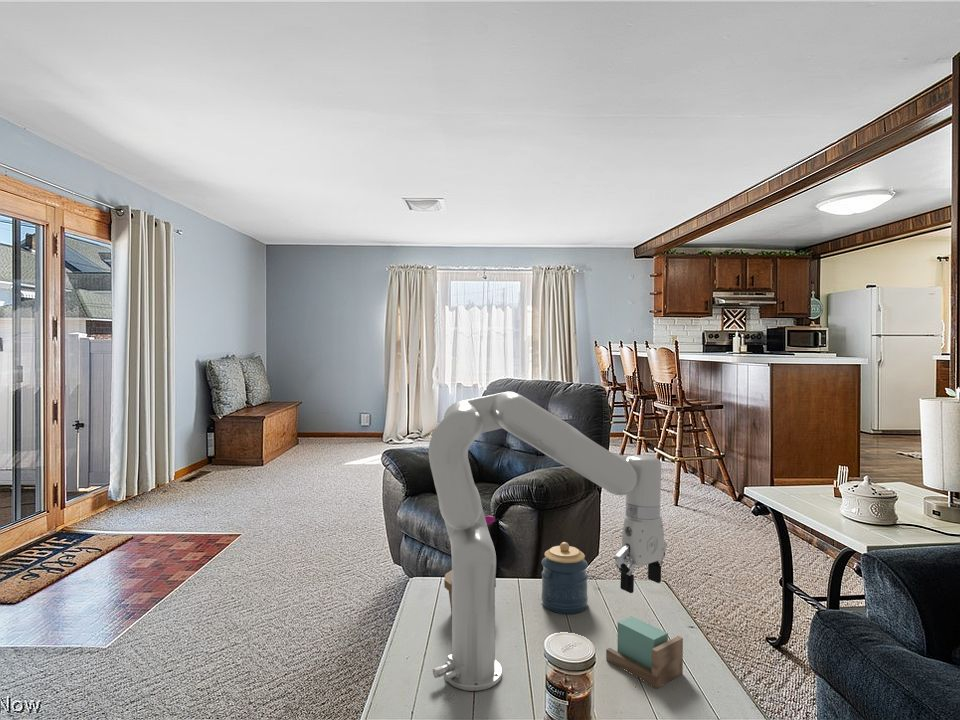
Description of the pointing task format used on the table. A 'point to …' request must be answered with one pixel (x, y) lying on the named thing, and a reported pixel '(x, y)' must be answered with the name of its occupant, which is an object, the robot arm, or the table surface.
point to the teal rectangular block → (639, 640)
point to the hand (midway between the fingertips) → (640, 585)
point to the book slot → (654, 662)
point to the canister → (564, 579)
